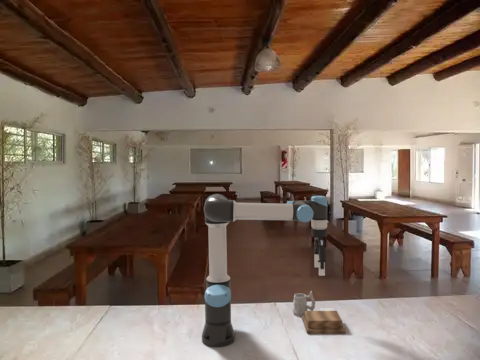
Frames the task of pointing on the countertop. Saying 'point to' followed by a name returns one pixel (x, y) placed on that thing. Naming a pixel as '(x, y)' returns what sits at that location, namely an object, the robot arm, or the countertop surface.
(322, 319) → the plinth
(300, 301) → the mug
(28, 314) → the countertop surface
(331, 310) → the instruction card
